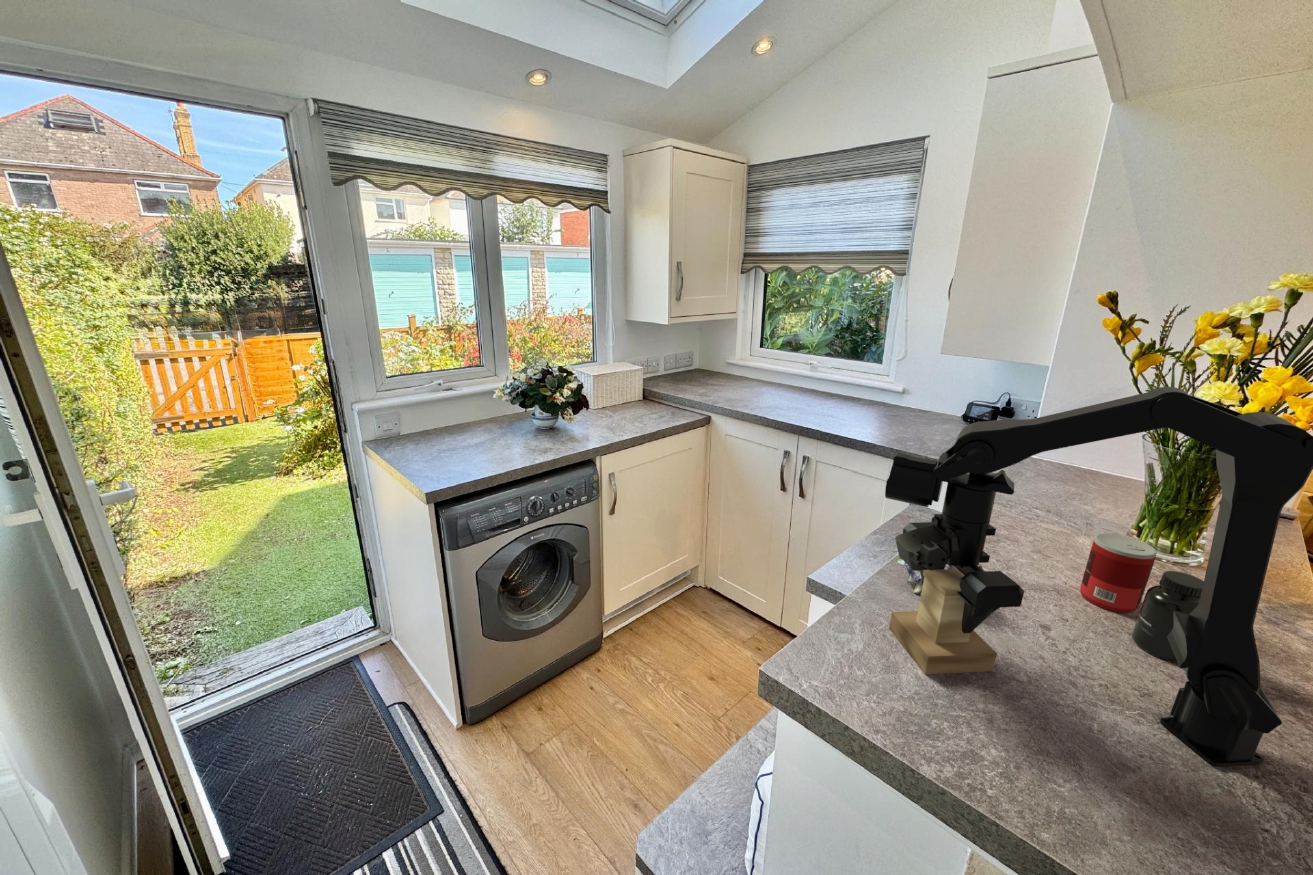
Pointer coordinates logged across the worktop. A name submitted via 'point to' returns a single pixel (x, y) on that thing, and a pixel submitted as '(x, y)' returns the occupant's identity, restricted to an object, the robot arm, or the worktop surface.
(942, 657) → the walnut block
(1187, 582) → the supplement bottle
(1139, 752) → the worktop surface
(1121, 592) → the canned food
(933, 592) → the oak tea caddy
